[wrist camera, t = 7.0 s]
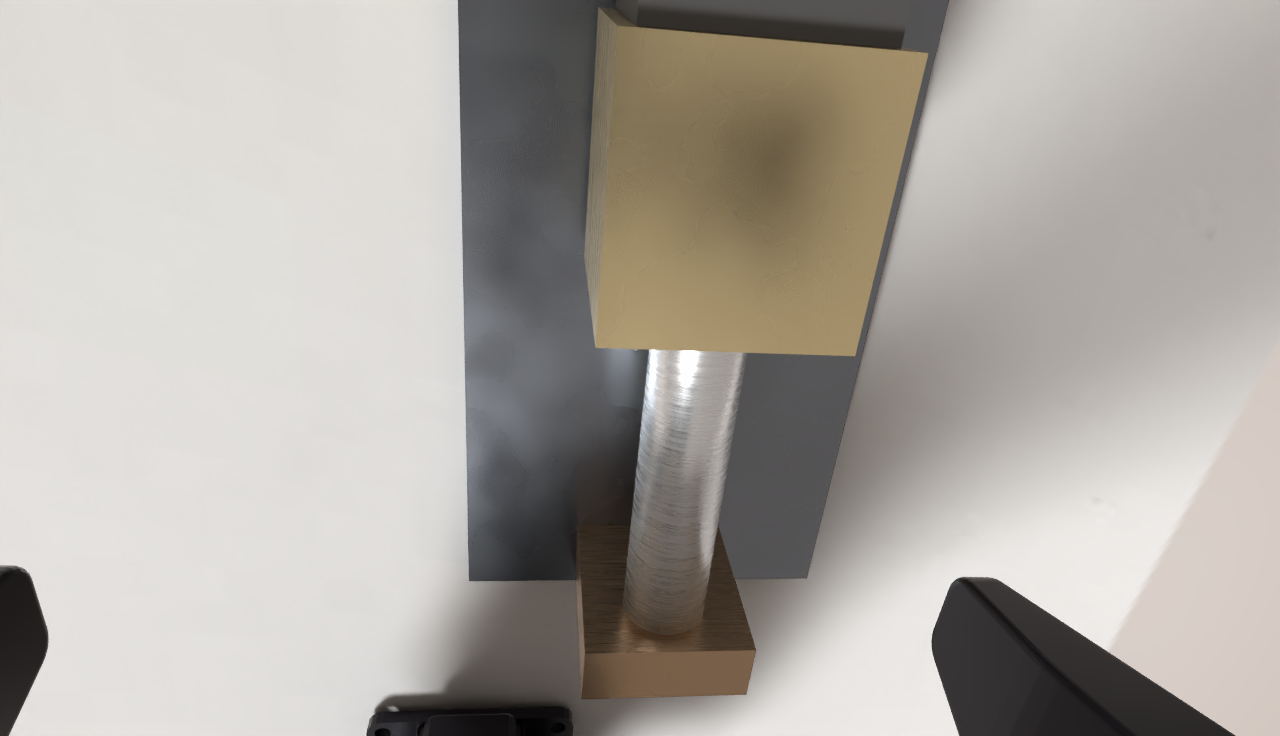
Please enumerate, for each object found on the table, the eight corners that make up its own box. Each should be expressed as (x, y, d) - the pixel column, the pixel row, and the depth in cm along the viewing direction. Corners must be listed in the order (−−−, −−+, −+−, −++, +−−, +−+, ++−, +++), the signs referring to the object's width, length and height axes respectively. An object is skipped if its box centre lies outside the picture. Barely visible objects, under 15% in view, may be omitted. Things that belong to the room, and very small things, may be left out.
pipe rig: (801, 566, 24) (859, 705, 19) (470, 568, 22) (451, 717, 18) (1030, -386, 14) (1260, -551, 9) (452, -486, 12) (399, -731, 8)
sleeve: (785, 265, 18) (855, 356, 14) (583, 255, 17) (595, 347, 13) (828, 28, 15) (928, 52, 11) (598, 7, 15) (616, 25, 11)
